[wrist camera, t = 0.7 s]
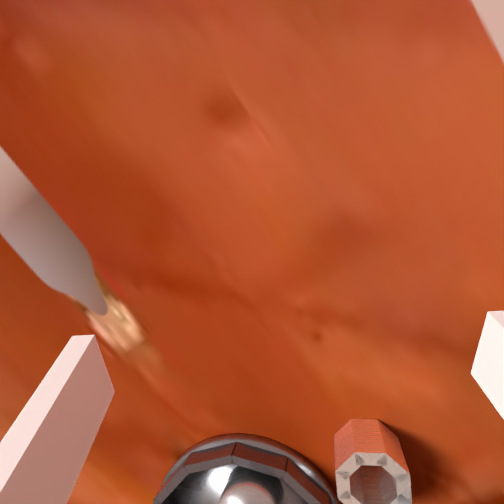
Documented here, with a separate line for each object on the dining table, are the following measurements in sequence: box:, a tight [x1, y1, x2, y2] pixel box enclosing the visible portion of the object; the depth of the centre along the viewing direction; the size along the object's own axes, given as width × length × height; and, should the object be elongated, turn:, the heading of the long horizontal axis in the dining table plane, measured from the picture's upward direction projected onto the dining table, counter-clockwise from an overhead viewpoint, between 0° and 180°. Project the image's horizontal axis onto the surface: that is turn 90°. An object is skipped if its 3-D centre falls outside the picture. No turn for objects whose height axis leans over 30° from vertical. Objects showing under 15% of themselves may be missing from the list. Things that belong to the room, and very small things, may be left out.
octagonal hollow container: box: [334, 419, 412, 504], centre depth 38 cm, size 7×7×6 cm
